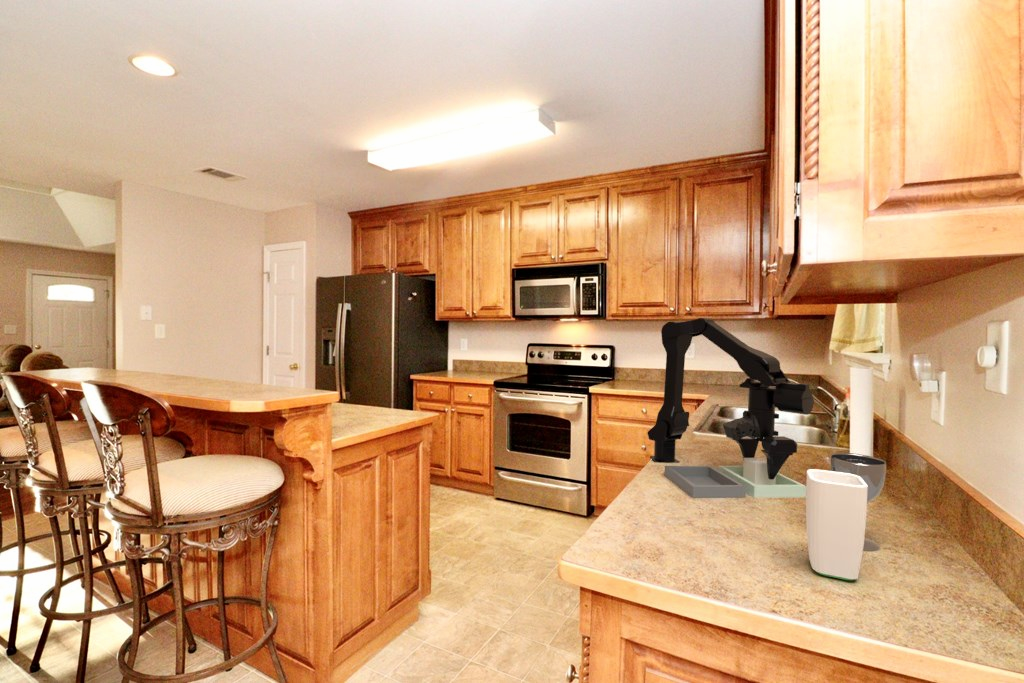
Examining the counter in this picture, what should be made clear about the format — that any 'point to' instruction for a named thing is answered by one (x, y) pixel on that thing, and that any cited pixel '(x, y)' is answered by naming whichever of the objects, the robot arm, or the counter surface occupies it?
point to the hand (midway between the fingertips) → (759, 473)
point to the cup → (835, 522)
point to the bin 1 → (705, 482)
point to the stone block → (757, 471)
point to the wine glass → (868, 470)
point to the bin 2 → (780, 490)
